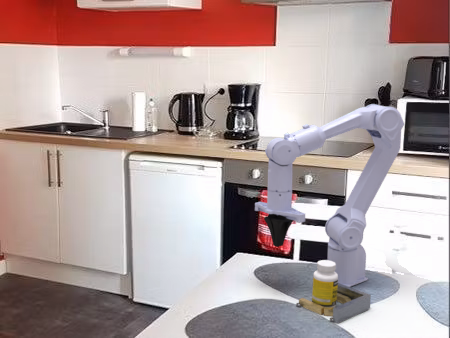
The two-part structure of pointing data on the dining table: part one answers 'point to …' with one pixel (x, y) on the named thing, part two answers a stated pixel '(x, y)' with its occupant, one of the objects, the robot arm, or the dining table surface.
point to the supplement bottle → (325, 284)
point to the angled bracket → (350, 307)
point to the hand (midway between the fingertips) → (278, 245)
